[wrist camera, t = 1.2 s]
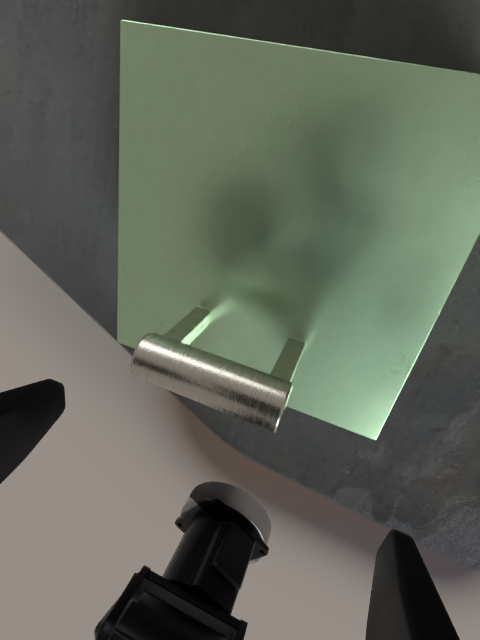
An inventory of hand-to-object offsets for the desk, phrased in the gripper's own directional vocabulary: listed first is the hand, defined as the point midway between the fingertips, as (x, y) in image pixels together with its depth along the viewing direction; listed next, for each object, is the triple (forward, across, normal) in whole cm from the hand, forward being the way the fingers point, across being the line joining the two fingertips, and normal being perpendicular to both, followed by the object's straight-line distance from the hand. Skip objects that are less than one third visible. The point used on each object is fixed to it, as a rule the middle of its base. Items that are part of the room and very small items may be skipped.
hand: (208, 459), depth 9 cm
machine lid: (+7, +1, -3) cm, 8 cm away
